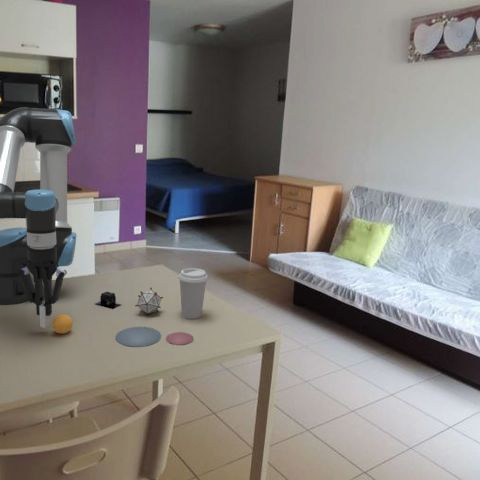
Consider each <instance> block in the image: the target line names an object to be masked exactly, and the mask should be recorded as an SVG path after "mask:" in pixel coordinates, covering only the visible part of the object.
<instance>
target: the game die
mask: <svg viewBox="0 0 480 480" xmlns="http://www.w3.org/2000/svg"><path fill="white" fill-rule="evenodd" d="M149 288H150V289H149V290H146V291H139V292H140V295H139V294H138V295H137V297H138V301H137V304H136V305H134V307H138V308H139V309H140V310H141V311H142V312H144V313H146V317H148V316H149V314H151V313H154V312H156V313H157V312H159V309H161V306H160V305H161V301H162V299H164V297H163V296H160V295H159V294H157V291H156V292H155V291H153V290H152V288H153V287H152V286H151V287H149Z"/></svg>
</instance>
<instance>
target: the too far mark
mask: <svg viewBox="0 0 480 480" xmlns="http://www.w3.org/2000/svg"><path fill="white" fill-rule="evenodd" d="M165 341H166V342H167V343H169V344H170V345H171V344H172V345H175V346H185V345H188V344H189V345H190V343H192V342H193V341H194V336H193V335H192V334H190V333H187V332H184V331H183V332H179V331H178V332H176V331H175V332H172V333H169V334H168V335H166V336H165Z"/></svg>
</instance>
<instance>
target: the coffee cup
mask: <svg viewBox="0 0 480 480" xmlns="http://www.w3.org/2000/svg"><path fill="white" fill-rule="evenodd" d="M177 279H178V280H179V288H180V289H179V290H180V304H181V305H180V306H181V316H182V318H185V319H187V320H196V319H200V318H201V317H202V314H203V307H204V299H205V293H206V292H205V291H206V285H207V281H208V280H209V276H208V274H207V273H206V270H204V269H201V268H197V267H195V268H194V267H193V268H192V267H190V268H188V267H187V268H184V269H181V272H180V273H179V274H178V277H177Z"/></svg>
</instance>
